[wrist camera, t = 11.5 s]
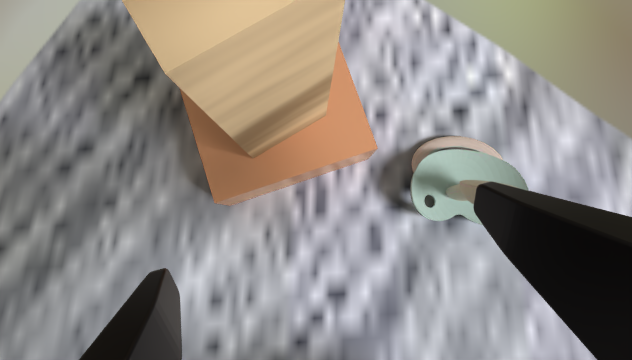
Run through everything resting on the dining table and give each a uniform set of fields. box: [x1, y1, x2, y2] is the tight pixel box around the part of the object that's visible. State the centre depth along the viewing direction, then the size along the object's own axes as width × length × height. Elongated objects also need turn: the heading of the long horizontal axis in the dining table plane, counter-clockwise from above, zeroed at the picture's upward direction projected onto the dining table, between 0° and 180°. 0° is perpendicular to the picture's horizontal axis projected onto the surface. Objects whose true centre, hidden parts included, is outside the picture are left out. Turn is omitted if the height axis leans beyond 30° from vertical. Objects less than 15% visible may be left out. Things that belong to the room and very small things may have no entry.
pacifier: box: [410, 136, 528, 225], centre depth 20 cm, size 7×6×6 cm
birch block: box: [122, 0, 345, 158], centre depth 14 cm, size 5×5×12 cm
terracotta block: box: [180, 42, 378, 206], centre depth 22 cm, size 10×10×4 cm
